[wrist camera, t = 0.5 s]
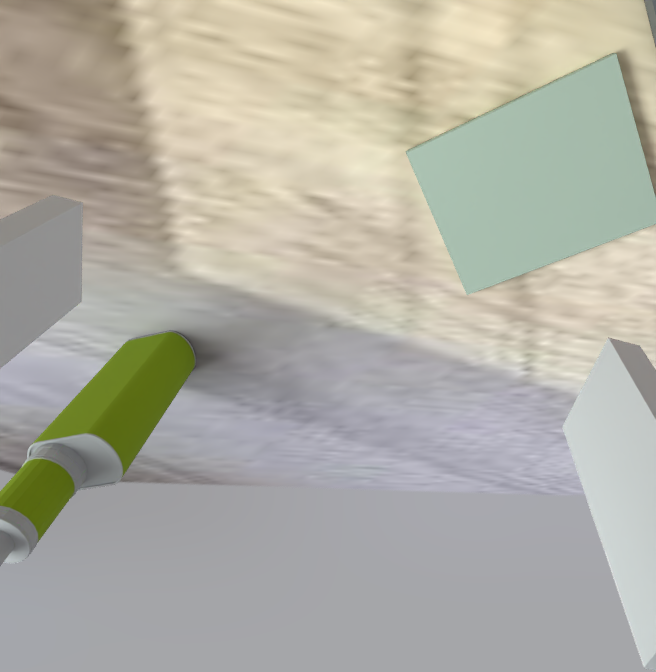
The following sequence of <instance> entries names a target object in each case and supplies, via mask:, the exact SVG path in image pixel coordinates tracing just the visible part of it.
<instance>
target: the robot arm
mask: <svg viewBox="0 0 656 672" xmlns="http://www.w3.org/2000/svg"><path fill="white" fill-rule="evenodd" d="M82 213H83V202H79V201H75V200H71V199H67V198H63V197H59V196H55V195H51V196H49V197H47V198H45V199H43V200H40V201H38V202H36V203H34V204H32V205H30V206H28V207H26V208H24V209H21V210H19V211H17V212H15V213H13V214H11V215H9V216H7V217H5V218H2V219H0V368H2V367H3V366H4V365H5V364H6V363H8V362H9V361H10V360H11V359H12V358H14V357H15V356H16V355H17V354H19V353H20V352H21V351H22V350H23V349H25V348H26V347H27V346H28V345H29V344H31V343H32V342H33V341H34V340H35V339H37V338H38V337H39V336H40V335H42V334H43V333H44V332H45V331H46V330H48V329H49V328H50V327H51V326H52V325H54V324H55V323H56V322H57V321H59V320H60V319H61V318H62V317H63V316H65V315H66V314H67V313H68V312H69V311H71V310H72V309H73V308H74V307H75V306H77V305H78V304H79V303H80V302H81V300H82ZM562 428H563V431H564V433H565V436H566V439H567V442H568V445H569V448H570V451H571V454H572V457H573V460H574V463H575V466H576V469H577V472H578V475H579V478H580V481H581V484H582V487H583V490H584V493H585V495H586V498H587V501H588V504H589V507H590V510H591V513H592V516H593V519H594V522H595V525H596V528H597V531H598V534H599V536H600V540H601V543H602V546H603V549H604V552H605V554H606V557H607V560H608V563H609V566H610V569H611V572H612V575H613V578H614V581H615V584H616V587H617V590H618V593H619V596H620V599H621V602H622V604H623V608H624V610H625V613H626V616H627V619H628V622H629V625H630V628H631V631H632V634H633V637H634V640H635V643H636V646H637V649H638V652H639V654H640V658H641V661H642V663H643V667H644V668H647V669H651V670H654V671H656V370H655V368H654V367H653V365H652V364H651V362H650V361H649V359H648V358H647V356H646V355H645V353H644V352H643V350H642V349H641V347H640V346H639V345H635V344H631V343H627V342H623V341H620V340H616V339H612V338H608V339H607V341H606V343H605V345H604V347H603V349H602V351H601V353H600V355H599V357H598V359H597V361H596V362H595V364H594V366H593V368H592V370H591V372H590V374H589V376H588V378H587V380H586V382H585V384H584V386H583V388H582V390H581V392H580V394H579V395H578V397H577V399H576V401H575V403H574V405H573V407H572V409H571V411H570V413H569V415H568V417H567V419H566V421H565V423H564V425H563V427H562Z"/></svg>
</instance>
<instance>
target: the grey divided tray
mask: <svg viewBox="0 0 656 672" xmlns="http://www.w3.org/2000/svg"><path fill="white" fill-rule="evenodd" d="M644 2H645V6H646V10H647V14H648V18H649V22H650V26H651V30H652V34H653V38H654V42H655V46H656V0H644Z"/></svg>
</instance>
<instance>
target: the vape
mask: <svg viewBox="0 0 656 672" xmlns="http://www.w3.org/2000/svg"><path fill="white" fill-rule="evenodd" d="M195 364H196V357H195V353H194V350H193V348H192V346H191V344H190V343H189V341H188V340H187V339H186V338H185V337H184V336H182V335H181V334H179V333H177V332H175V331H167V332H162V333H158V334H153V335H149V336H144V337H139V338H135V339H131V340H128V341H127V342H126V343H125V344H124V345H123V346H122V347H121V348H120V349H119V350H118V351H117V352H116V354H115V355H114V356H113V357H112V358H111V359H110V360H109V361H108V362H107V363H106V364H105V365H104V367H103V368H102V369H101V370H100V371H99V372H98V373H97V374H96V375H95V376H94V377H93V379H92V380H91V381H90V382H89V383H88V384H87V385H86V386H85V387H84V388H83V389H82V390H81V392H80V393H79V394H78V395H77V396H76V397H75V398H74V399H73V400H72V401H71V402H70V404H69V405H68V406H67V407H66V408H65V409H64V410H63V411H62V412H61V413H60V414H59V415H58V417H57V418H56V419H55V420H54V421H53V422H52V423H51V424H50V425H49V426H48V427H47V429H46V430H45V431H44V432H43V433H42V434H41V435H40V436H39V437H38V438H37V439H36V440H35V442H34V443H33V444H32V445H31V446H30V447H29V449H28V452H27V458H28V459H27V460H26V461H25V462H24V464H23V466H22V468H21V469H20V470H19V471H18V472H17V473H16V474H15V476H14V477H13V478H12V479H11V480H10V481H9V482H8V483H7V484H6V486H5V487H4V488H3V489H2V490H1V491H0V566H1V564H2V563H3V562H5V563H17V562H21V561H23V560H24V559H26V558H27V557H28V556H29V554H31V552H32V551H33V549H34V548H35V547H36V545H37V543H38V541H39V540H40V539H41V537H42V536H43V534H44V533H45V532H46V530H47V529H48V528H49V526H50V525H51V524H52V522H53V521H54V520H55V518H56V517H57V516H58V514H59V513H60V511H61V510H62V509H63V507H64V506H65V505H66V503H67V502H68V501H69V499H70V498H71V497H72V496H73V495H74V494H75V493H76V492H77V491H78V490H85V489H91V488H96V487H103V486H109V485H115V484H117V483H118V482H119V481H120V480H121V478H122V477H123V475H124V474H125V472H126V471H127V469H128V468H129V466H130V465H131V463H132V462H133V460H134V459H135V457H136V455H137V454H138V452H139V451H140V449H141V448H142V446H143V445H144V443H145V442H146V440H147V439H148V437H149V436H150V434H151V433H152V431H153V430H154V428H155V427H156V425H157V424H158V422H159V420H160V419H161V417H162V416H163V414H164V413H165V411H166V410H167V408H168V407H169V405H170V404H171V402H172V401H173V399H174V398H175V396H176V395H177V393H178V392H179V390H180V389H181V387H182V386H183V384H184V382H185V381H186V379H187V378H188V376H189V375H190V373H191V372H192V370H193V369H194V367H195Z"/></svg>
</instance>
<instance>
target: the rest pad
mask: <svg viewBox="0 0 656 672" xmlns="http://www.w3.org/2000/svg"><path fill="white" fill-rule="evenodd" d="M406 154H407V156H408V159H409V161H410V163H411V166H412V168H413V170H414V173H415V175H416V177H417V180H418V182H419V184H420V187H421V189H422V191H423V194H424V196H425V198H426V200H427V203H428V205H429V207H430V210H431V212H432V214H433V217H434V219H435V221H436V224H437V226H438V228H439V231H440V233H441V235H442V238H443V240H444V242H445V245H446V247H447V249H448V252H449V254H450V256H451V259H452V261H453V263H454V266H455V268H456V270H457V273H458V275H459V277H460V280H461V282H462V284H463V287H464V289H465V291H466V294H467V295H468V294H471V293H474V292H476V291H479V290H482V289H484V288H487V287H490V286H492V285H495V284H498V283H500V282H503V281H506V280H508V279H511V278H514V277H516V276H519V275H521V274H524V273H527V272H529V271H532V270H535V269H537V268H540V267H543V266H545V265H548V264H551V263H553V262H556V261H559V260H561V259H564V258H567V257H569V256H572V255H575V254H577V253H580V252H582V251H585V250H588V249H590V248H593V247H596V246H598V245H601V244H604V243H606V242H609V241H612V240H614V239H617V238H620V237H622V236H625V235H628V234H630V233H633V232H636V231H638V230H641V229H644V228H646V227H649V226H651V225H654V224H656V197H655V193H654V189H653V186H652V182H651V178H650V175H649V171H648V167H647V164H646V160H645V157H644V153H643V149H642V146H641V142H640V138H639V135H638V131H637V127H636V124H635V120H634V116H633V113H632V109H631V105H630V102H629V98H628V94H627V91H626V87H625V84H624V80H623V76H622V73H621V69H620V65H619V62H618V58H617V54H616V53H612V54H610V55H608V56H606V57H604V58H601V59H599V60H597V61H595V62H593V63H591V64H589V65H587V66H585V67H582V68H580V69H578V70H576V71H574V72H572V73H570V74H568V75H566V76H563V77H561V78H559V79H557V80H555V81H553V82H551V83H549V84H547V85H544V86H542V87H540V88H538V89H536V90H534V91H532V92H530V93H528V94H525V95H523V96H521V97H519V98H517V99H515V100H513V101H511V102H509V103H506V104H504V105H502V106H500V107H498V108H496V109H494V110H492V111H490V112H487V113H485V114H483V115H481V116H479V117H477V118H475V119H473V120H471V121H468V122H466V123H464V124H462V125H460V126H458V127H456V128H454V129H452V130H449V131H447V132H445V133H443V134H441V135H439V136H437V137H435V138H433V139H430V140H428V141H426V142H424V143H422V144H420V145H418V146H416V147H414V148H412V149H409V150H407V151H406Z"/></svg>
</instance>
